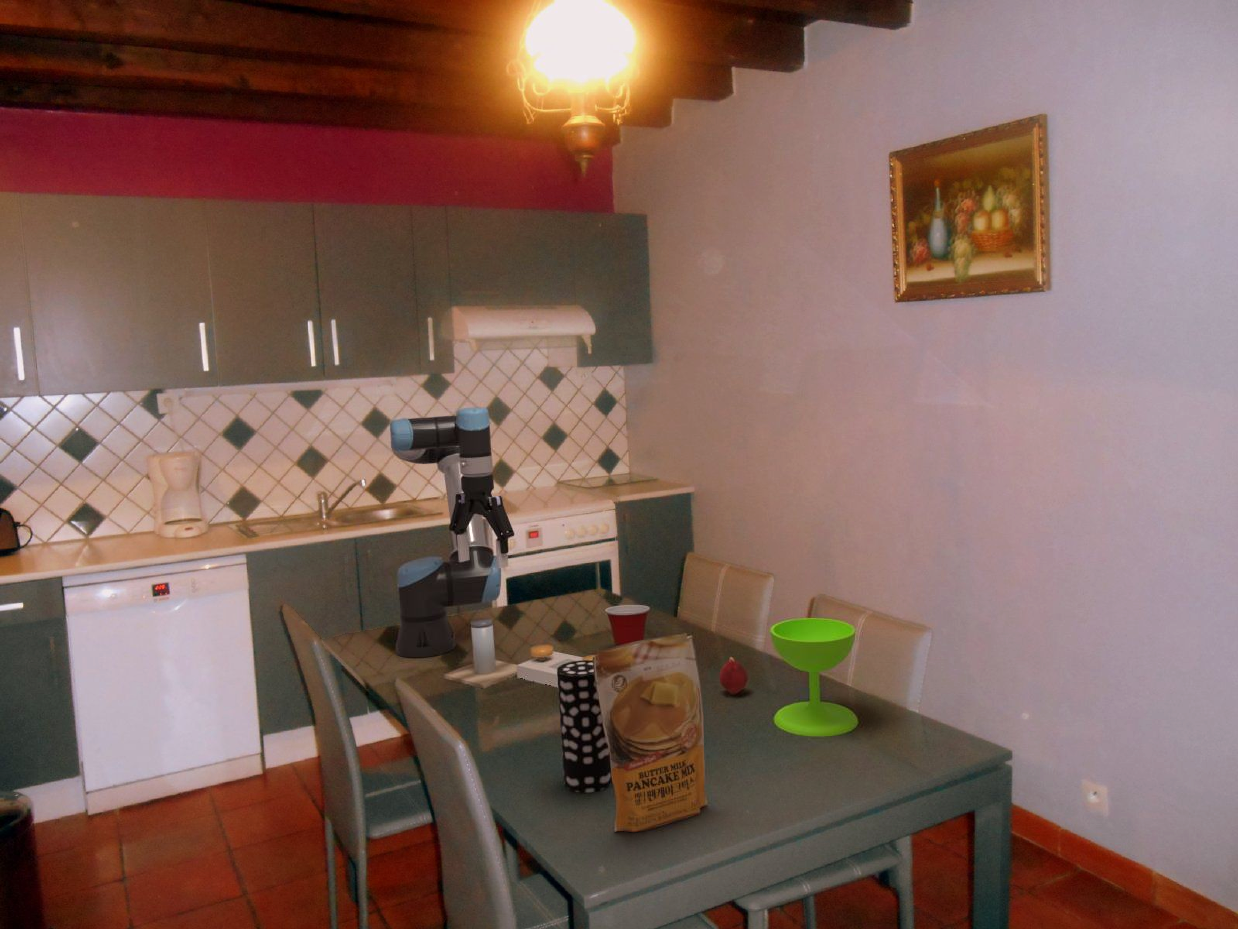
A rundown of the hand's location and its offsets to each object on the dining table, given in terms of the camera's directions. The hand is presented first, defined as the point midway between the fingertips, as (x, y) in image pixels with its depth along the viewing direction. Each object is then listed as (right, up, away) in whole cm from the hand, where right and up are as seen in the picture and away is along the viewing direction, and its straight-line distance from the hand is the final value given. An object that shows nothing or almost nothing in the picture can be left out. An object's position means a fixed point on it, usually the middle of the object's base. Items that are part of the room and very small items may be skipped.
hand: (483, 564), depth 219 cm
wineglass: (+70, -26, -39) cm, 84 cm away
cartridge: (+1, -25, 0) cm, 25 cm away
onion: (+56, -25, -22) cm, 65 cm away
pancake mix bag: (+38, -32, -73) cm, 88 cm away
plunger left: (+14, -24, -1) cm, 28 cm away
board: (+1, -26, 0) cm, 26 cm away
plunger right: (+27, -24, -11) cm, 38 cm away
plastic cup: (+35, -23, +8) cm, 42 cm away
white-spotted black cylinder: (+27, -31, -60) cm, 72 cm away
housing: (+20, -25, -6) cm, 33 cm away
